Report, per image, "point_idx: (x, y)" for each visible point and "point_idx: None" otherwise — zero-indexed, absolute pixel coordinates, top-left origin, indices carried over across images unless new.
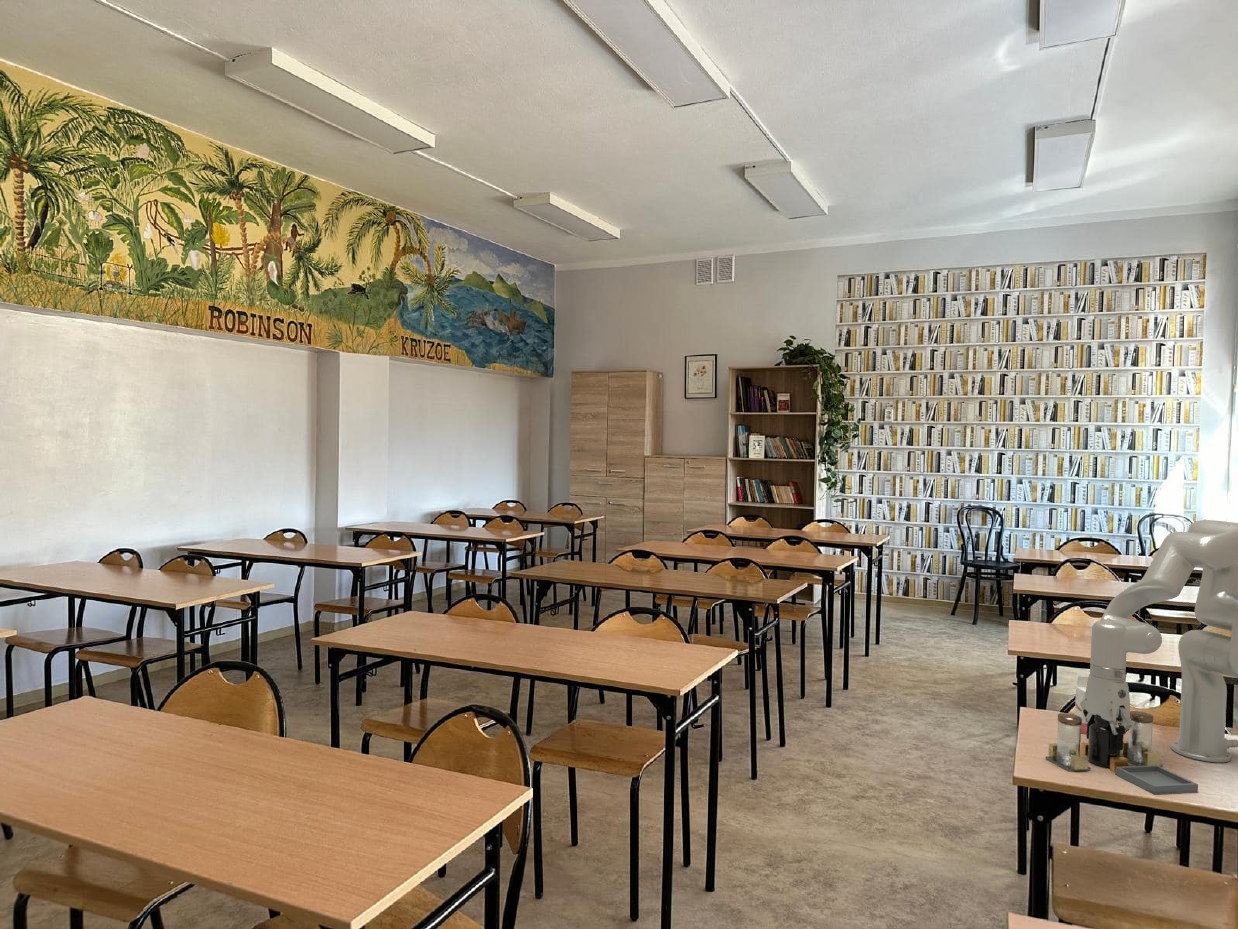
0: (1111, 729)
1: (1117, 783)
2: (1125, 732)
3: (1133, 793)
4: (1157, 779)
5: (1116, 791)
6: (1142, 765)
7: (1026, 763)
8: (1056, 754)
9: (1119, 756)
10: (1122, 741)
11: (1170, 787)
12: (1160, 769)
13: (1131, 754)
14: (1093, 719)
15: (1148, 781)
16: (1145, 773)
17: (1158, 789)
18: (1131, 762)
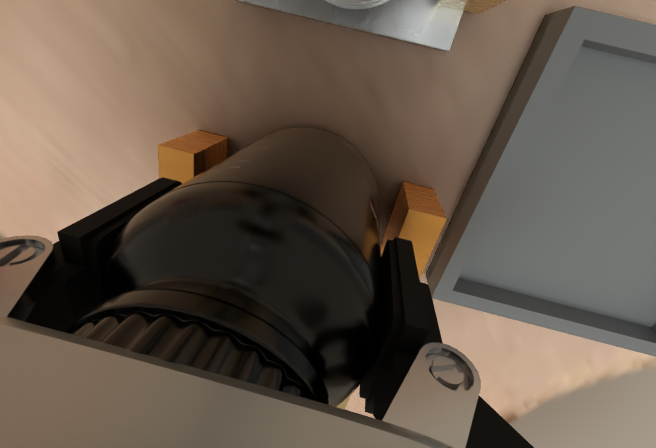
0: (335, 401)
1: (485, 344)
2: (496, 417)
3: (573, 377)
4: (618, 185)
5: (521, 402)
6: (451, 36)
7: None
8: None
9: (375, 195)
10: (434, 313)
11: None
12: (612, 47)
13: (347, 2)
14: (41, 318)
15: (590, 256)
16: (530, 161)
17: None
18: (366, 31)
